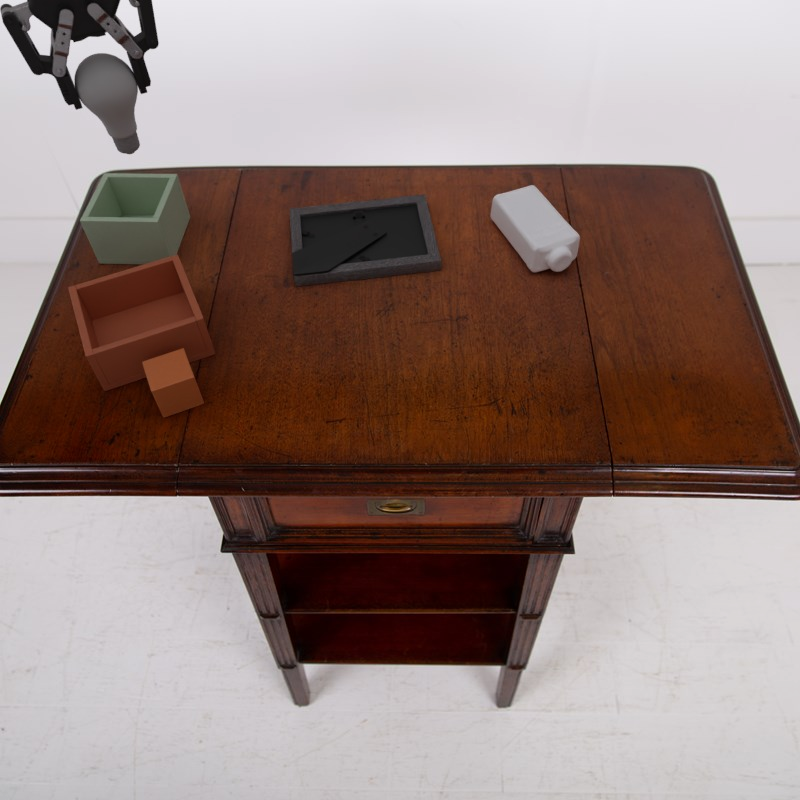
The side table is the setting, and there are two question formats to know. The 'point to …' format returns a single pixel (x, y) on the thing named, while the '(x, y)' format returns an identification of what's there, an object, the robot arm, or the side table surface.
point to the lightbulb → (110, 97)
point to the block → (172, 382)
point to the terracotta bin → (138, 320)
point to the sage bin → (136, 218)
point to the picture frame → (363, 240)
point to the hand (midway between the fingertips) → (110, 97)
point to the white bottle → (535, 229)
